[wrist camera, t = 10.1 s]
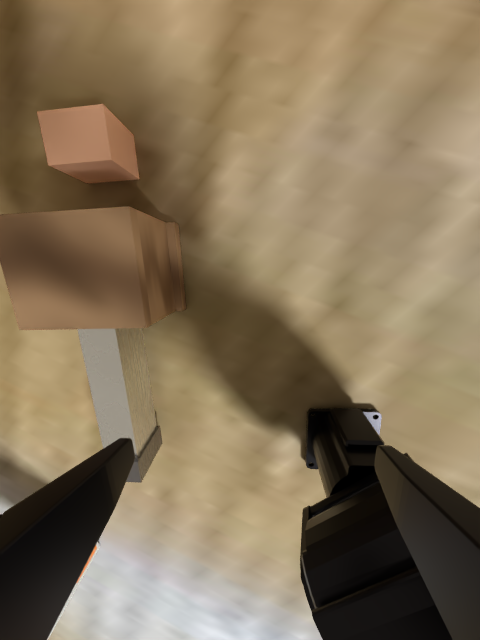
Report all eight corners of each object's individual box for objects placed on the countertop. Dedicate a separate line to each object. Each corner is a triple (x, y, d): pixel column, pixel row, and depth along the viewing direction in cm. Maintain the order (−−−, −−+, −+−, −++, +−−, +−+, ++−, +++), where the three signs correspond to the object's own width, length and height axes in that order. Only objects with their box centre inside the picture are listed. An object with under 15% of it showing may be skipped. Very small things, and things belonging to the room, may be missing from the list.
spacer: (111, 159, 15) (102, 103, 14) (48, 165, 15) (36, 111, 14) (140, 179, 18) (134, 135, 17) (88, 183, 19) (80, 141, 18)
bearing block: (186, 308, 20) (156, 327, 14) (80, 311, 21) (10, 330, 15) (178, 224, 19) (140, 205, 13) (64, 230, 19) (-23, 215, 13)
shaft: (162, 443, 23) (141, 482, 19) (131, 442, 23) (104, 480, 19) (135, 254, 18) (100, 252, 14) (97, 256, 19) (53, 254, 15)
